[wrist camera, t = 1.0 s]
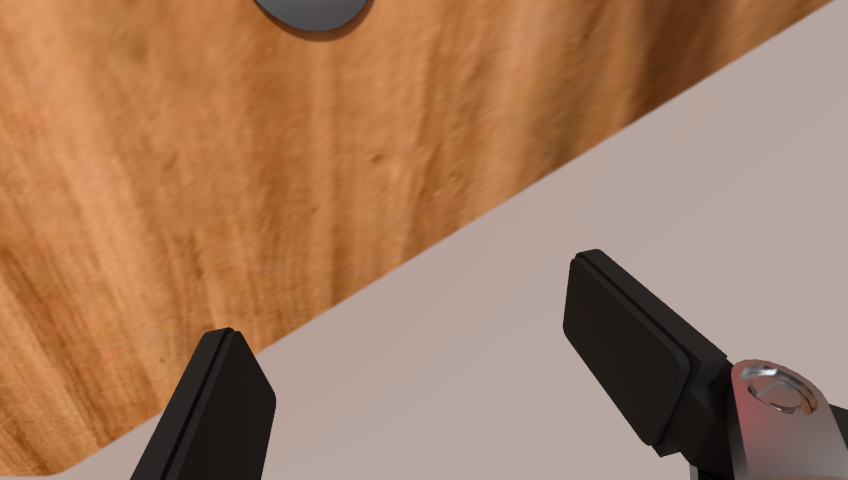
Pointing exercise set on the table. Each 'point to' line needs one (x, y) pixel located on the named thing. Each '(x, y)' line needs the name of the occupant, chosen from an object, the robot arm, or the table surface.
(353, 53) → the table surface
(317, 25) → the mat
